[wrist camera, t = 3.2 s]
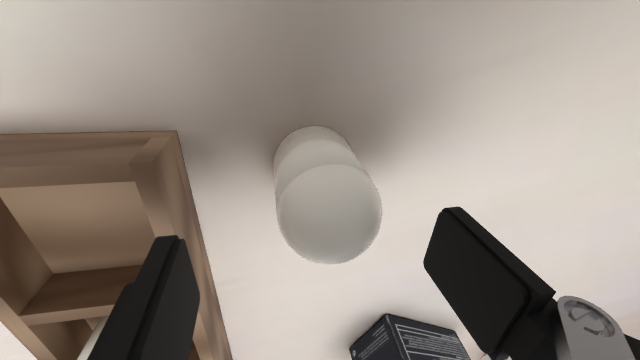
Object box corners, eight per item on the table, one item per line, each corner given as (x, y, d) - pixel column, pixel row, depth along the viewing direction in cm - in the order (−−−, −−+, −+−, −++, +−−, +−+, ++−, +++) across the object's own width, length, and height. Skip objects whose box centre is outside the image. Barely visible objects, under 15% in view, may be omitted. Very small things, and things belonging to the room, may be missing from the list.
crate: (-43, 135, 11) (-144, 173, 8) (176, 130, 13) (151, 162, 10) (135, 392, 24) (118, 442, 21) (236, 374, 25) (232, 419, 22)
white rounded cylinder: (271, 126, 13) (276, 201, 8) (354, 124, 14) (412, 192, 9) (275, 198, 16) (281, 295, 10) (347, 193, 16) (389, 281, 11)
